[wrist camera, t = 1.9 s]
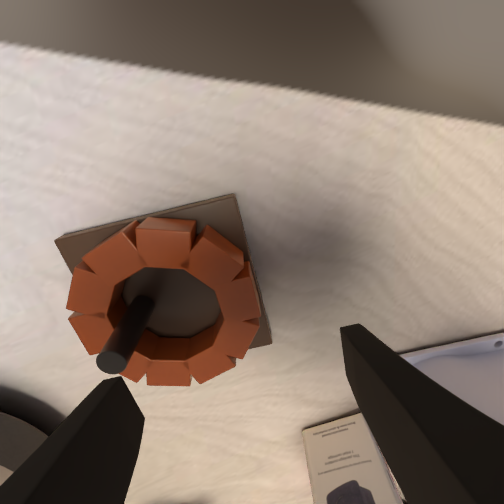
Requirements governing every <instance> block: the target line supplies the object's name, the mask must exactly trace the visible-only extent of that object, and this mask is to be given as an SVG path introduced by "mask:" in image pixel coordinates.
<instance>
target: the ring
mask: <svg viewBox="0 0 504 504" xmlns="http://www.w3.org/2000/svg"><path fill="white" fill-rule="evenodd" d="M82 260H83V261H82V262H80V263H79V264H78V265H77V266H76V267H75V268H74V272H73V277H72V282H71V287H70V291H69V296H68V301H67V306H66V309H68V310H72V311H75V312H74V313H73V314H72V315H71V316H70V317H69V318H68V320H69V322H70V323H71V325H72V327H73V328H74V330H75V332H76V333H77V335H78V337H79V338H80V340H81V342H82V343H83V345H84V347H85V348H86V350H87V352H88V353H89V355H93V354H98V353H100V351H101V350H102V348H103V347H104V345H105V343H106V342H107V340H108V339H109V337H110V336H111V334H112V332H113V331H114V329H115V328H116V326H117V325H118V323H119V321H120V320H121V318H122V317H123V315H124V313H125V312H126V310H127V307H126V305H125V303H124V301H123V299H122V297H121V294H122V290H123V287H124V284H125V280H126V278H128V277H130V276H131V275H133V274H135V273H136V272H138V271H140V270H141V269H143V268H144V267H153V268H171V269H184V270H186V271H187V272H188V273H190V274H191V275H193V276H194V277H196V278H197V279H198V280H200V281H201V282H203V283H204V284H206V285H207V286H209V287H210V288H211V289H213V290H214V291H215V294H216V297H217V300H218V303H219V306H220V309H221V312H220V314H219V316H218V318H217V321H216V323H215V325H213V326H211V327H210V328H208V329H206V330H204V331H202V332H200V333H199V334H197V335H195V336H193V337H191V338H169V337H159V336H157V335H155V334H154V333H152V332H150V331H149V330H147V329H145V330H144V332H143V334H142V336H141V338H140V340H139V342H138V344H137V346H136V348H135V350H134V353H133V355H132V357H131V359H130V361H129V363H128V365H127V367H126V369H125V370H124V371H123V372H121V373H119V374H121V375H122V376H124V377H126V378H128V379H130V380H132V381H134V382H136V383H137V382H138V381H139V380H140V379H141V378H142V377H143V376H144V375H145V374H146V377H147V385H153V386H190V385H191V380H192V376H193V377H194V378H195V379H196V380H197V381H198V383H199V384H202V383H204V382H206V381H208V380H210V379H212V378H213V377H215V376H217V375H219V374H221V373H223V372H225V371H227V370H229V369H231V368H233V367H235V366H236V358H239V359H243V358H244V356H245V354H246V352H247V350H248V348H249V346H250V344H251V342H252V340H253V338H254V336H255V335H256V333H257V331H258V329H259V327H260V324H259V317H261V311H260V304H259V297H258V293H257V289H256V285H255V281H254V278H253V274H252V270H251V266H250V262H249V261H246V262H244V258H243V252H242V251H241V250H240V249H239V248H237V247H236V246H235V245H233V244H232V243H231V242H229V241H228V240H227V239H226V238H224V237H223V236H222V235H220V234H219V233H218V232H217V231H215V230H214V229H213V228H211V227H210V226H209V225H206V226H205V227H204V229H203V230H202V231H201V232H200V233H199V235H198V236H197V237H196V221H195V220H184V219H169V218H155V217H147V218H146V219H145V220H144V221H143V222H142V223H141V224H139V223H138V221H137V220H135V221H133V222H132V223H130V224H129V225H127V226H126V227H124V228H122V229H121V230H119V231H118V232H116V233H115V234H113V235H112V236H110V237H109V238H107V239H105V240H104V241H102V242H101V243H99V244H98V245H97V246H96V247H94V248H93V249H92V250H90V251H89V252H88V253H87V254H85V255H84V256H83V257H82Z"/></svg>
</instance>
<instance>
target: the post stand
mask: <svg viewBox="0 0 504 504" xmlns="http://www.w3.org/2000/svg"><path fill="white" fill-rule="evenodd" d="M147 217H155V218H169V219H184V220H195V221H196V237H197V236H198V235H199V233H200V232H201V231H202V230H203V229H204V227H205V226H206V225H209V226H210V227H211V228H213V229H214V230H215V231H217V232H218V233H219V234H220V235H222V236H223V237H224V238H226V239H227V240H228V241H229V242H231V243H232V244H233V245H235V246H236V247H237V248H239V249H240V250H241V251H242V252H243V258H244V262H246V261H249V262H250V266H251V270H252V274H253V278H254V281H255V285H256V289H257V293H258V297H259V304H260V311H261V317H259V324H260V327H259V329H258V331H257V333H256V335H255V336H254V338H253V340H252V342H251V344H250V346H249V348H248V349H251V348H256V347H261V346H265V345H270V344H272V338H271V333H270V329H269V325H268V321H267V317H266V314H265V310H264V306H263V302H262V298H261V294H260V290H259V286H258V282H257V278H256V275H255V271H254V267H253V263H252V259H251V255H250V251H249V247H248V243H247V239H246V236H245V232H244V228H243V224H242V220H241V216H240V212H239V208H238V204H237V200H236V197H235V194H230V195H226V196H222V197H218V198H213V199H209V200H205V201H201V202H197V203H193V204H189V205H185V206H181V207H177V208H172V209H168V210H164V211H160V212H156V213H152V214H148V215H144V216H140V217H136V218H132V219H127V220H123V221H119V222H115V223H111V224H107V225H103V226H99V227H95V228H91V229H86V230H82V231H78V232H74V233H70V234H66V235H63V236H61V237H59V238H57V239H56V240H54V242H55V244H56V246H57V247H58V249H59V251H60V253H61V255H62V257H63V258H64V260H65V262H66V264H67V266H68V268H69V269H70V271H71V273H72V275H73V272H74V268H75V267H76V266H77V265H78V264H79V263H80V262H82V261H83V260H82V257H83V256H84V255H85V254H87V253H88V252H89V251H90V250H92V249H93V248H94V247H96V246H97V245H98V244H99V243H101V242H102V241H104V240H105V239H107V238H109V237H110V236H112V235H113V234H115V233H116V232H118V231H119V230H121V229H122V228H124V227H126V226H127V225H129V224H130V223H132V222H133V221H135V220H137V221H138V223H139V224H141V223H142V222H143V221H144V220H145V219H146V218H147ZM121 297H122V299H123V301H124V303H125V305H126V307H127V310H126V312H125V313H124V315H123V317H122V318H121V320H120V321H119V323H118V325H117V326H116V328H115V329H114V331H113V332H112V334H111V336H110V337H109V339H108V340H107V342H106V343H105V345H104V347H103V348H102V350H101V351H100V353H99V355H98V356H97V358H96V364H97V366H98V368H99V369H100V370H102V371H103V372H105V373H108V374H118V373H121V372H123V371H124V370H125V369H126V367H127V365H128V363H129V361H130V359H131V357H132V355H133V353H134V350H135V348H136V346H137V344H138V342H139V340H140V338H141V336H142V334H143V332H144V330H145V329H147V330H149V331H150V332H152V333H154V334H155V335H157V336H159V337H169V338H191V337H193V336H195V335H197V334H199V333H200V332H202V331H204V330H206V329H208V328H210V327H211V326H213V325H215V323H216V321H217V318H218V316H219V314H220V312H221V309H220V306H219V303H218V300H217V297H216V294H215V291H214V290H213V289H211V288H210V287H209V286H207V285H206V284H204V283H203V282H201V281H200V280H198V279H197V278H196V277H194V276H193V275H191V274H190V273H188V272H187V271H186V270H184V269H171V268H153V267H144V268H143V269H141V270H140V271H138V272H136V273H135V274H133V275H131V276H130V277H128V278H126V280H125V284H124V287H123V290H122V294H121Z"/></svg>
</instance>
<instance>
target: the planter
mask: <svg viewBox="0 0 504 504" xmlns="http://www.w3.org/2000/svg"><path fill="white" fill-rule="evenodd" d="M48 437H49V436H47V435H46V434H45V433H43V432H42V431H40V430H39V429H37V428H36V427H34V426H32V425H30V424H29V423H27V422H25V421H23V420H21V419H18V418H16V417H14V416H11V415H9V414H6V413H3V412H0V486H1V485H2V484H3V483H4V482H5V481H6V480H7V479H8V478H9V477H10V476H11V475H12V474H13V473H14V472H15V471H16V470H17V469H18V468H19V467H20V466H21V465H22V464H23V463H24V462H25V460H26V459H27V458H28V457H29V456H30V455H31V454H32V453H33V452H34V451H35V450H36V449H37V448H38V447H39V446H40V445H41V444H42V443H43V442H44V441H45V440H46V439H47V438H48Z"/></svg>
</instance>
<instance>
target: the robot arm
mask: <svg viewBox="0 0 504 504" xmlns="http://www.w3.org/2000/svg"><path fill="white" fill-rule="evenodd" d="M340 333H341V340H342V348H343V355H344V363H345V370H346V376H347V379H348V381H349V384H350V386H351V389H352V391H353V394H354V396H355V399H356V401H357V404H358V406H359V409H360V411H361V413H362V415H363V417H364V419H365V420H366V422H367V424H368V426H369V428H370V430H371V432H372V434H373V436H374V438H375V440H376V442H377V444H378V446H379V448H380V450H381V452H382V454H383V455H384V457H385V459H386V461H387V463H388V465H389V467H390V469H391V471H392V473H393V475H394V477H395V479H396V481H397V483H398V485H399V486H400V488H401V490H402V492H403V495H404V497H405V499H406V501H407V503H408V504H504V332H503V333H498V334H494V335H489V336H484V337H480V338H475V339H470V340H466V341H461V342H456V343H452V344H447V345H442V346H438V347H433V348H428V349H424V350H419V351H414V352H410V353H405V354H400V355H398V354H397V353H396V352H394V351H393V350H392V349H391V348H389V347H388V346H387V345H386V344H384V343H383V342H382V341H381V340H379V339H378V338H377V337H376V336H375V335H373V334H372V333H371V332H370V331H368V330H367V329H366V328H365V327H364V326H362V325H361V324H359V323H358V324H354V325H349V326H345V327H340ZM144 421H145V418H144V416H143V414H142V412H141V410H140V409H139V407H138V405H137V403H136V401H135V400H134V398H133V396H132V394H131V393H130V391H129V389H128V387H127V385H126V384H125V382H124V380H123V378H122V377H121V376H119V377H115V378H110V379H106V380H103V381H102V382H101V383H100V384H99V385H98V386H97V387H96V388H95V389H94V390H93V391H92V392H91V393H90V394H89V395H88V396H87V397H86V398H85V399H84V400H83V401H82V402H81V403H80V404H79V405H78V406H77V407H76V408H75V409H74V410H73V411H72V413H71V414H70V415H69V416H68V417H67V418H66V419H65V420H64V421H63V422H62V423H61V424H60V425H59V426H58V427H57V428H56V429H55V431H54V432H53V433H52V434H51V435H50V436H49V437H48V438H47V439H46V440H45V441H44V442H43V443H42V444H41V445H40V446H39V447H38V448H37V449H36V450H35V451H34V452H33V453H32V454H31V455H30V456H29V457H28V458H27V459H26V460H25V462H24V463H23V464H22V465H21V466H20V467H19V468H18V469H17V470H16V471H15V472H14V473H13V474H12V475H11V476H10V477H9V478H8V479H7V480H6V481H5V482H4V483H3V484H2V485H1V486H0V504H124V501H125V498H126V495H127V492H128V488H129V485H130V482H131V478H132V475H133V471H134V468H135V465H136V461H137V458H138V454H139V449H140V444H141V439H142V433H143V427H144Z"/></svg>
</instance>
